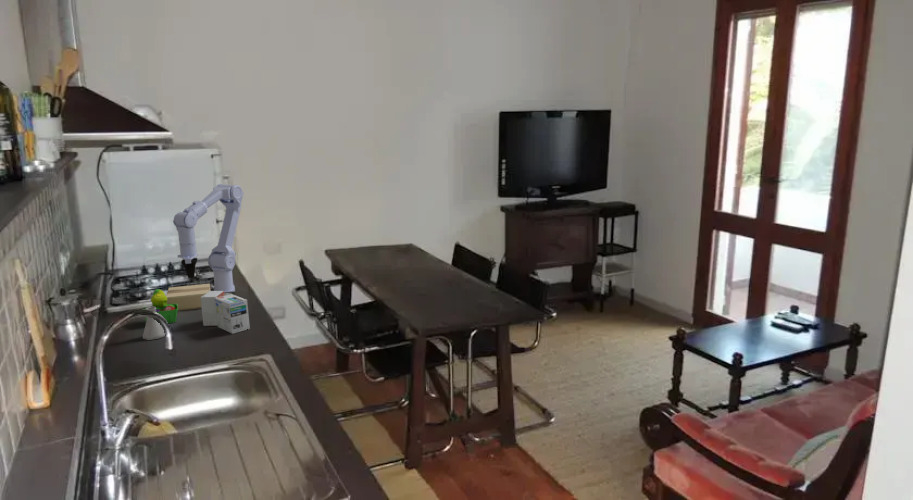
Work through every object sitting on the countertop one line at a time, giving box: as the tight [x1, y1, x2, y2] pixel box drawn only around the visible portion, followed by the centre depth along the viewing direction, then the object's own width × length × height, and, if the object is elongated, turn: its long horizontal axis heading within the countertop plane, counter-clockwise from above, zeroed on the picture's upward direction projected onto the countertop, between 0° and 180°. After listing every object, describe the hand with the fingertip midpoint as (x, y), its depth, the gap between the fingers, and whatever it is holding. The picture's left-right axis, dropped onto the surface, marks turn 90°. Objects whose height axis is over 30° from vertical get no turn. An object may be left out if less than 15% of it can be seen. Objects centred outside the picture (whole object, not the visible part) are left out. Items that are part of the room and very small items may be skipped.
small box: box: [200, 290, 226, 327], centre depth 226 cm, size 8×6×10 cm
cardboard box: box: [167, 289, 212, 312], centre depth 247 cm, size 14×15×5 cm
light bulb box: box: [215, 293, 251, 334], centre depth 220 cm, size 11×7×11 cm, turn 47°
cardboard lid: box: [165, 283, 211, 299], centre depth 247 cm, size 14×15×1 cm
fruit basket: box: [142, 288, 178, 324], centre depth 227 cm, size 11×9×11 cm
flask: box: [142, 306, 166, 341], centre depth 213 cm, size 7×7×10 cm
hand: (191, 277), depth 249 cm, fingers closed
